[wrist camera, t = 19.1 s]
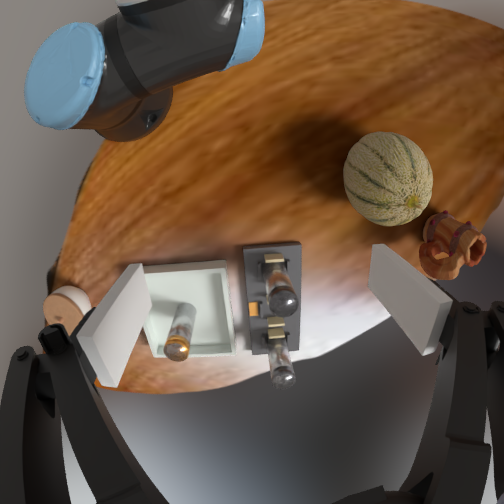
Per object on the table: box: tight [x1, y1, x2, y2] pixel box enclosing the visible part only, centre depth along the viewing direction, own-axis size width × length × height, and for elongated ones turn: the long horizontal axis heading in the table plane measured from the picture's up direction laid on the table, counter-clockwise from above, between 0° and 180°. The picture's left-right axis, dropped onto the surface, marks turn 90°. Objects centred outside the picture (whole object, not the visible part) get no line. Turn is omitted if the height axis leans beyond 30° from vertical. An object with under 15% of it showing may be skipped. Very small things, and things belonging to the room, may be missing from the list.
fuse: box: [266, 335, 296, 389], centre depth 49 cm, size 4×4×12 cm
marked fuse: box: [163, 303, 197, 361], centre depth 46 cm, size 4×4×12 cm
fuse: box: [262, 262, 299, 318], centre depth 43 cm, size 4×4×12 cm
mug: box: [419, 210, 487, 280], centre depth 42 cm, size 15×8×15 cm, turn 119°
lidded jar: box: [43, 286, 92, 336], centre depth 46 cm, size 11×11×9 cm
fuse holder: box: [243, 242, 301, 355], centre depth 51 cm, size 10×24×4 cm, turn 4°
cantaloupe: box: [343, 132, 433, 226], centre depth 37 cm, size 15×15×15 cm
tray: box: [143, 260, 236, 357], centre depth 50 cm, size 18×20×4 cm
